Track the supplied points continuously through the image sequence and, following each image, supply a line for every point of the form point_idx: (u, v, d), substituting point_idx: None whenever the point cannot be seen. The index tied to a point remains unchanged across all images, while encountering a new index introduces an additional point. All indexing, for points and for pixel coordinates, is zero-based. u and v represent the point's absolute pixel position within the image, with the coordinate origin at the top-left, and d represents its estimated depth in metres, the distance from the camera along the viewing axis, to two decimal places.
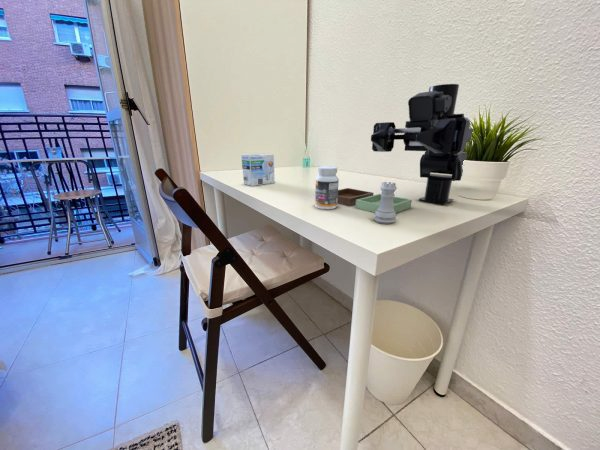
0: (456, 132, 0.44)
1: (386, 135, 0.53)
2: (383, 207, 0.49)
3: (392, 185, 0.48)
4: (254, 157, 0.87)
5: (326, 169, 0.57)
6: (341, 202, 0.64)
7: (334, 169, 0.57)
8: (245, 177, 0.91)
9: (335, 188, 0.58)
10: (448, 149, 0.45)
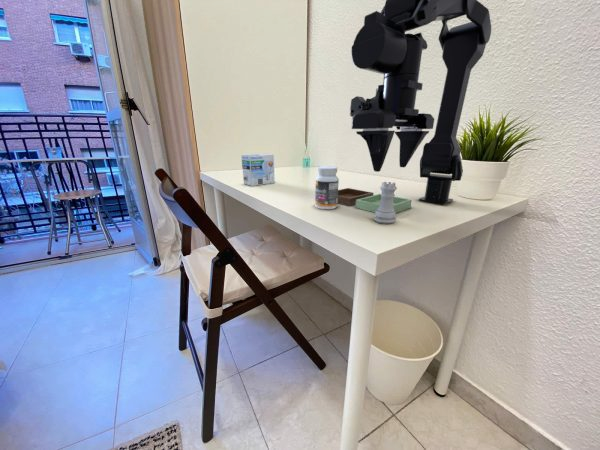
0: (366, 127, 0.41)
1: (405, 136, 0.49)
2: (383, 207, 0.49)
3: (392, 185, 0.48)
4: (254, 157, 0.87)
5: (326, 169, 0.57)
6: (341, 202, 0.64)
7: (334, 169, 0.57)
8: (245, 177, 0.91)
9: (335, 188, 0.58)
10: (382, 134, 0.39)
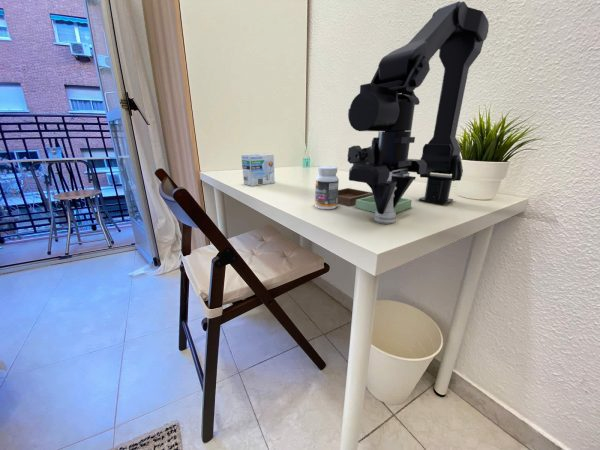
0: None
1: (393, 181, 0.50)
2: None
3: None
4: (254, 157, 0.87)
5: (326, 169, 0.57)
6: (341, 202, 0.64)
7: (334, 169, 0.57)
8: (245, 177, 0.91)
9: (335, 188, 0.58)
10: (385, 185, 0.44)
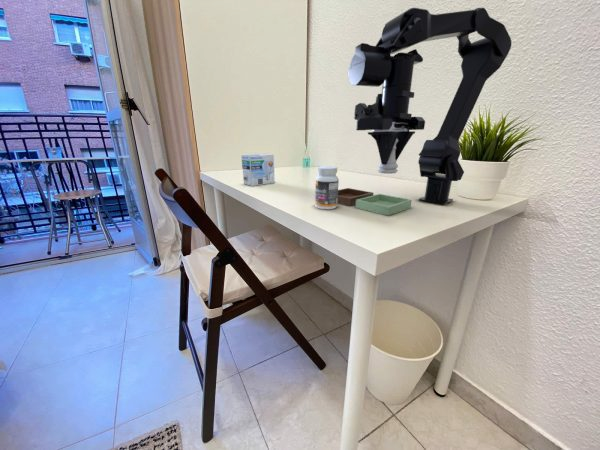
0: None
1: None
2: None
3: None
4: (254, 157, 0.87)
5: (326, 169, 0.57)
6: (341, 202, 0.64)
7: (334, 169, 0.57)
8: (245, 177, 0.91)
9: (335, 188, 0.58)
10: (389, 134, 0.50)
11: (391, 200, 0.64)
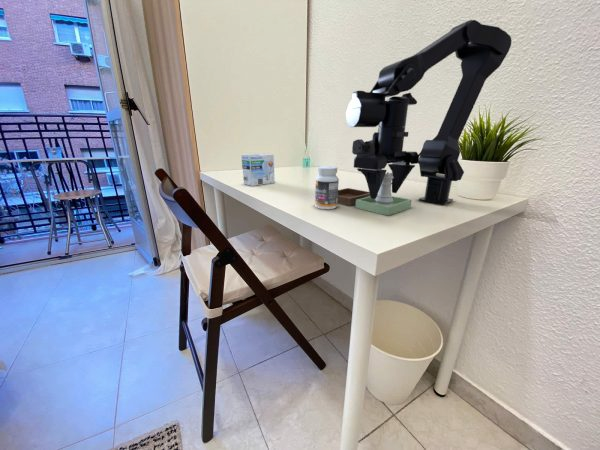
0: None
1: (396, 168, 0.61)
2: (382, 193, 0.59)
3: (390, 174, 0.57)
4: (254, 157, 0.87)
5: (326, 169, 0.57)
6: (341, 202, 0.64)
7: (334, 169, 0.57)
8: (245, 177, 0.91)
9: (335, 188, 0.58)
10: (376, 173, 0.52)
11: None
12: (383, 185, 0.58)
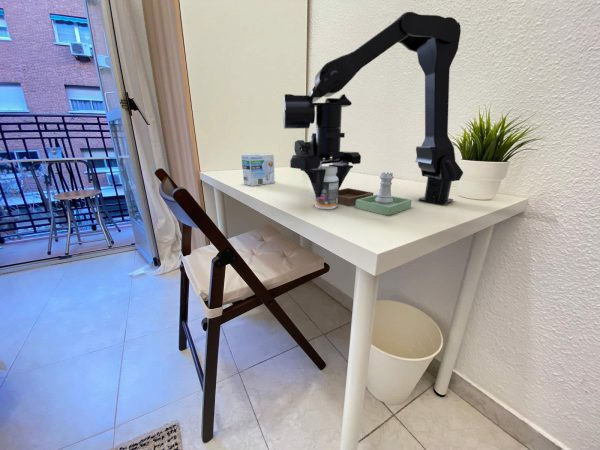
0: None
1: None
2: (382, 193, 0.59)
3: (390, 174, 0.57)
4: (254, 157, 0.87)
5: (326, 169, 0.57)
6: (341, 202, 0.64)
7: (334, 169, 0.57)
8: (245, 177, 0.91)
9: (335, 188, 0.58)
10: None
11: None
12: (383, 185, 0.58)
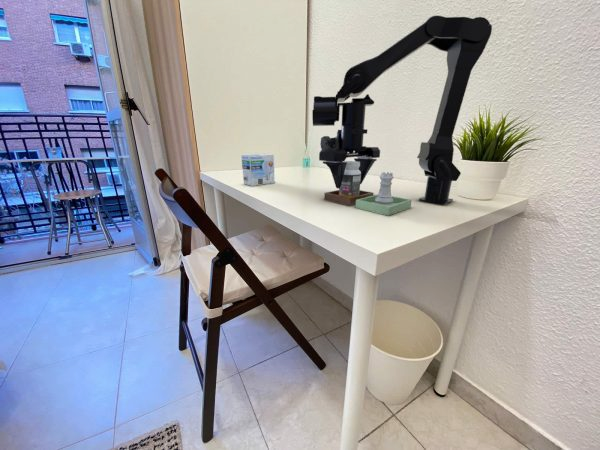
0: None
1: (360, 162, 0.69)
2: (382, 193, 0.59)
3: (390, 174, 0.57)
4: (254, 157, 0.87)
5: (350, 163, 0.63)
6: (341, 202, 0.64)
7: (357, 163, 0.64)
8: (245, 177, 0.91)
9: (358, 180, 0.65)
10: (337, 165, 0.59)
11: None
12: (383, 185, 0.58)
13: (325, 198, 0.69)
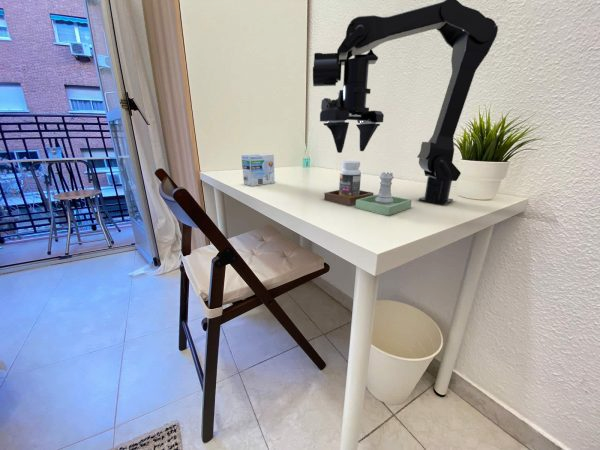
0: None
1: (363, 127, 0.66)
2: (382, 193, 0.59)
3: (390, 174, 0.57)
4: (254, 157, 0.87)
5: (351, 163, 0.63)
6: (341, 202, 0.64)
7: (358, 163, 0.64)
8: (245, 177, 0.91)
9: (358, 180, 0.65)
10: (339, 124, 0.56)
11: None
12: (383, 185, 0.58)
13: (325, 198, 0.69)
